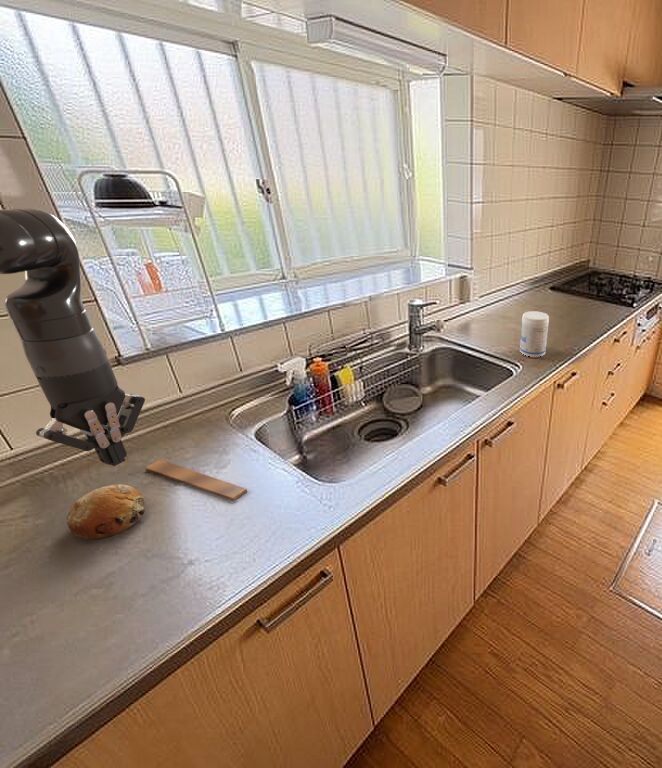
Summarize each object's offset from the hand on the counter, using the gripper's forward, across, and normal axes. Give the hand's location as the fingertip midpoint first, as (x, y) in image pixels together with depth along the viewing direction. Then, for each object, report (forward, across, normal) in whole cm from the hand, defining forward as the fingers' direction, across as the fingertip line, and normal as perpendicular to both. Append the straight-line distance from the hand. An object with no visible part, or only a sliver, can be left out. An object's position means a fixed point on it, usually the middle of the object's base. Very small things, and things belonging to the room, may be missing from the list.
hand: (115, 462), depth 66 cm
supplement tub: (+14, -107, +38) cm, 115 cm away
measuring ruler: (+15, -12, -5) cm, 20 cm away
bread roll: (+15, 0, -7) cm, 17 cm away
